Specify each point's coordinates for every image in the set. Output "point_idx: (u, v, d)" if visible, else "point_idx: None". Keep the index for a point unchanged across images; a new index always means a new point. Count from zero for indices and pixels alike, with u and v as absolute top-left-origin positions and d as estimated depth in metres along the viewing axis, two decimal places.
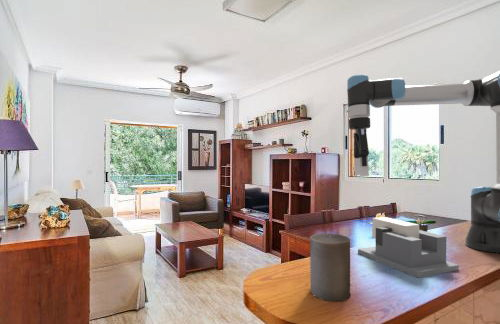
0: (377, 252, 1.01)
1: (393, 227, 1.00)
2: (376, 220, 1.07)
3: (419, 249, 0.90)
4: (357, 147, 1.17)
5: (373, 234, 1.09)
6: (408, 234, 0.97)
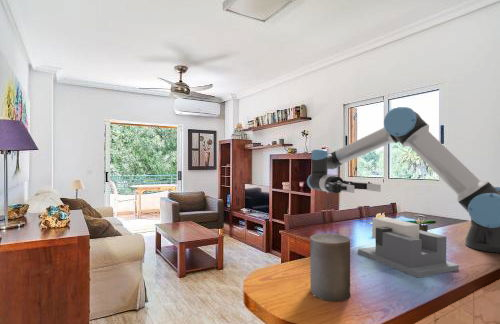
0: (377, 252, 1.01)
1: (393, 227, 1.00)
2: (376, 220, 1.07)
3: (419, 249, 0.90)
4: (355, 187, 1.27)
5: (373, 234, 1.09)
6: (408, 234, 0.97)
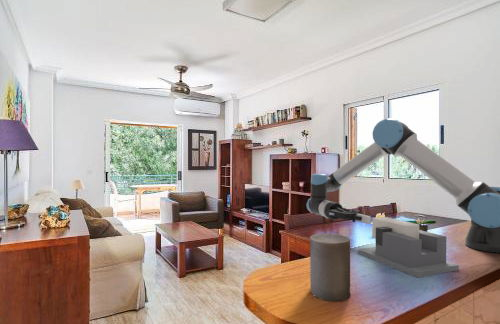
0: (377, 252, 1.01)
1: (393, 227, 1.00)
2: (376, 220, 1.07)
3: (419, 249, 0.90)
4: None
5: (373, 234, 1.09)
6: (408, 234, 0.97)
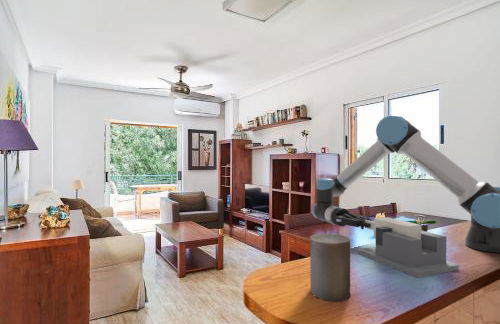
0: (377, 252, 1.01)
1: (395, 228, 1.00)
2: (377, 220, 1.07)
3: (419, 249, 0.90)
4: None
5: (374, 234, 1.08)
6: (410, 235, 0.96)
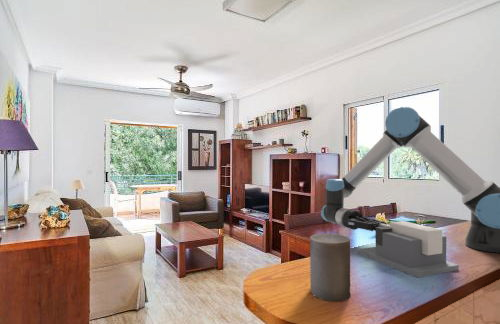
0: (377, 252, 1.01)
1: (414, 233, 0.93)
2: (394, 224, 1.00)
3: (419, 249, 0.90)
4: None
5: None
6: (431, 240, 0.89)
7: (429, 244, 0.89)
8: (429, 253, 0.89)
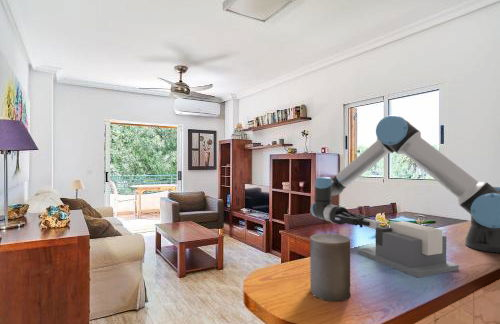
0: (377, 252, 1.01)
1: (414, 233, 0.93)
2: (394, 224, 1.00)
3: (419, 249, 0.90)
4: None
5: None
6: (431, 240, 0.89)
7: (429, 244, 0.89)
8: (429, 253, 0.89)
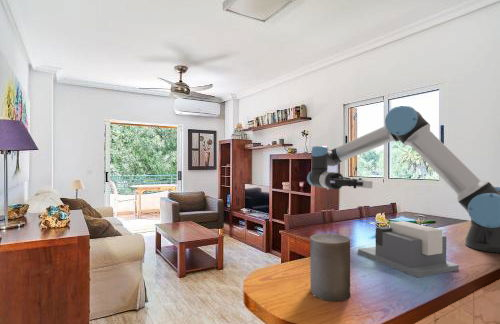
0: (377, 252, 1.01)
1: (414, 233, 0.93)
2: (394, 224, 1.00)
3: (419, 249, 0.90)
4: None
5: None
6: (431, 240, 0.89)
7: (429, 244, 0.89)
8: (429, 253, 0.89)
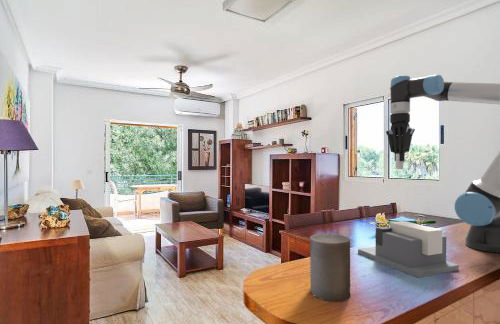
0: (377, 252, 1.01)
1: (414, 233, 0.93)
2: (394, 224, 1.00)
3: (419, 249, 0.90)
4: (397, 140, 1.30)
5: None
6: (431, 240, 0.89)
7: (429, 244, 0.89)
8: (429, 253, 0.89)
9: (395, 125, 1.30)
